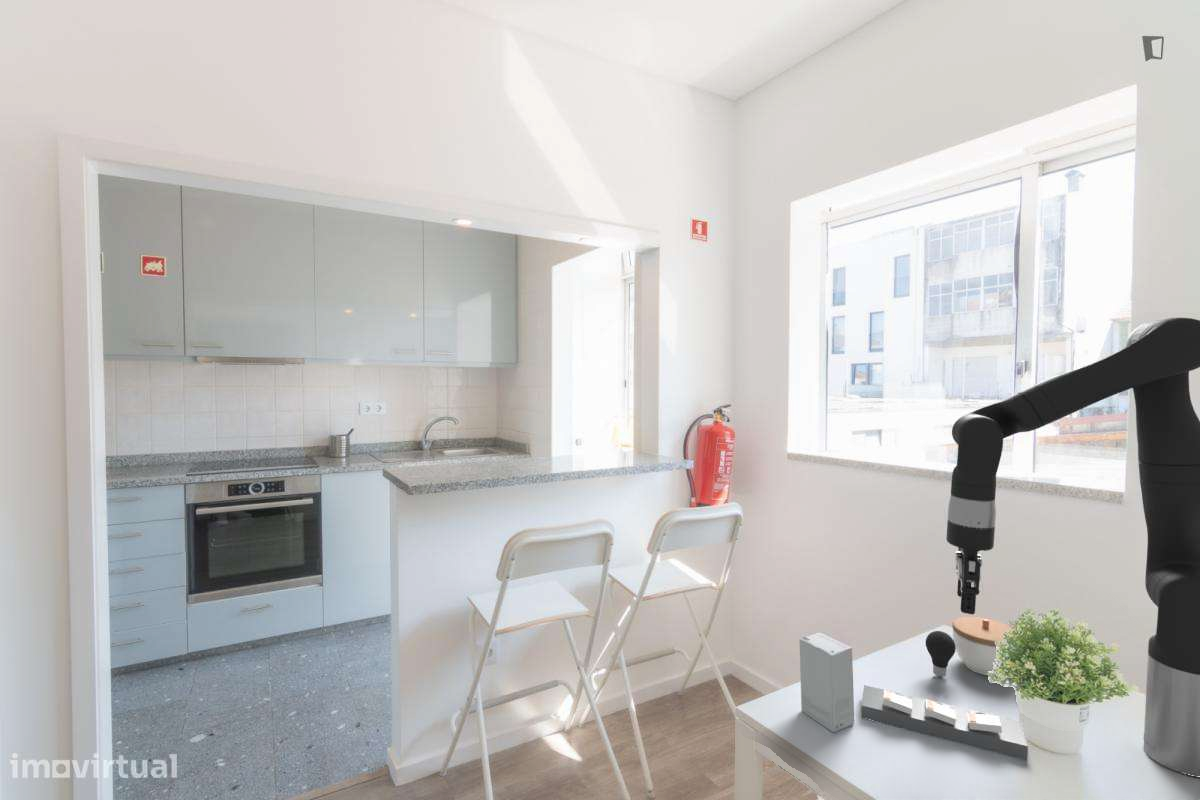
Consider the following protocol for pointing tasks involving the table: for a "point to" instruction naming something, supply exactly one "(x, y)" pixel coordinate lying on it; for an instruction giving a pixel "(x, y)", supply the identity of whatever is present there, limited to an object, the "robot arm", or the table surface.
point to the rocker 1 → (897, 702)
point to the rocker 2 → (984, 722)
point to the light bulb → (940, 651)
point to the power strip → (946, 724)
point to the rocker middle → (940, 712)
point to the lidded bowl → (977, 641)
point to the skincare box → (827, 681)
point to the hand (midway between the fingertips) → (965, 604)
